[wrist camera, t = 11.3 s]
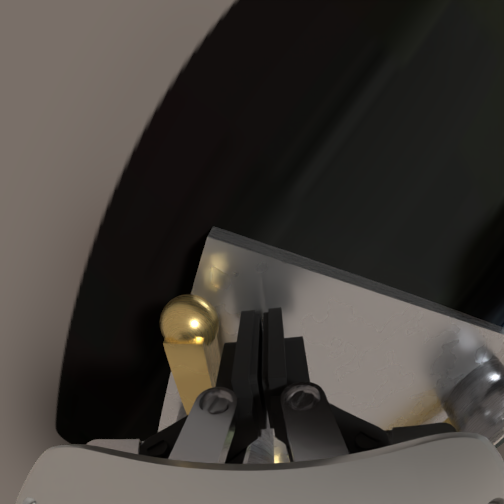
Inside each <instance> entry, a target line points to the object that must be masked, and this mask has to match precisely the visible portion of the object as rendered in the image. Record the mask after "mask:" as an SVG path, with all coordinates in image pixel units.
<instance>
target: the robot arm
mask: <svg viewBox="0 0 504 504" xmlns="http://www.w3.org/2000/svg"><path fill="white" fill-rule="evenodd" d="M267 413H268V419H269V424H270V429H274V433H275V438H277V439H278V440H280V441H281V442H283V443H284V444H285V445H286V451H287V455H288V459H289V462H286V463H268V464H247V462H248V458H249V454H250V450H251V443H253V442H254V441H255V440H257V439H258V437H261V434H262V429H267ZM15 504H504V461H503V459H502V457H501V455H500V454H499V452H498V451H497V449H496V448H495V446H494V445H493V444H492V443H491V442H490V441H489V440H488V439H487V438H486V437H484V436H483V435H480V434H477V433H470V432H457V431H456V429H455V428H454V427H453V426H452V425H451V424H448V423H443V422H439V423H432V424H424V425H415V426H404V427H392V429H391V430H383V429H381V428H380V427H378V426H376V425H374V424H371V423H369V422H367V421H365V420H363V419H361V418H359V417H357V416H354V415H352V414H350V413H348V412H346V411H344V410H342V409H340V408H338V407H336V406H334V405H332V404H330V403H329V402H328V400H327V397H326V395H325V392H324V391H323V389H322V388H321V387H320V386H319V385H317V384H315V383H312V382H310V378H309V372H308V365H307V359H306V352H305V346H304V340H303V336H299V337H290V338H284V329H283V319H282V309H281V307H279V308H269V309H268V312H264V313H263V328H262V322H261V315H260V313H255V310H248V311H241V316H240V322H239V329H238V336H237V342H227V343H224V346H223V351H222V356H221V361H220V366H219V371H218V376H217V381H216V386H215V387H213V388H209V389H207V390H205V391H203V392H202V393H200V394H199V395H198V397H197V398H196V400H195V402H194V404H193V406H192V409H191V411H190V413H189V415H187V416H185V417H184V418H182V419H180V420H179V421H177V422H175V423H174V424H172V425H170V426H168V427H167V428H165V429H163V430H161V431H160V432H158V433H156V434H154V435H152V436H150V437H149V438H148V439H146V440H145V441H140V439H96V440H92V441H90V442H88V443H87V444H86V445H84V444H67V445H59V446H55V447H51V448H49V449H47V450H46V451H45V452H44V453H43V454H42V455H41V456H40V457H39V459H38V460H37V461H36V463H35V464H34V466H33V468H32V469H31V471H30V473H29V474H28V477H27V478H26V481H25V482H24V484H23V486H22V488H21V490H20V493H19V495H18V497H17V500H16V502H15Z"/></svg>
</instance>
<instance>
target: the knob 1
mask: <svg viewBox="0 0 504 504" xmlns="http://www.w3.org/2000/svg"><path fill="white" fill-rule="evenodd" d="M160 329H161V333H162V335H163V337H164V339H165V340H164V342H163V345H164V349H165V352H166V355H167V359H168V362H169V365H170V368H171V371H172V374H173V377H174V380H175V383H176V386H177V389H178V392H179V395H180V398H181V400H182V403H183V406H182V407H181V408H180V410H179V412H178V416H177V419H176V422H177V421H179V420H180V419H182V418H184V417H185V416H187V415H189V413H190V411H191V409H192V406H193V404H194V402H195V400H196V398H197V397H198V395H199V394H200V393H202V392H203V391H205V390H207V389H209V388H213V387H215V386H216V381H217V376H218V371H219V366H220V361H221V357H220V351H219V345H218V339H217V334H218V331H219V318H218V315H217V312H216V310H215V308H214V307H213V306H212V305H211V303H210V302H208V301H207V300H206V299H204V298H202V297H200V296H198V295H193V294H184V295H180V296H177V297H175V298H173V299H172V300H170V301H169V302H168V303H167V304H166V306H165V307H164V309H163V311H162V313H161V317H160ZM268 463H274V436H273V429H270V424H269V419H268V413H267V429H262V434H261V437H258V439H257V440H255V441H254V442H253V443H251V450H250V454H249V458H248V462H247V464H268Z"/></svg>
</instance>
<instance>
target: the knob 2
mask: <svg viewBox="0 0 504 504" xmlns="http://www.w3.org/2000/svg"><path fill="white" fill-rule="evenodd" d="M444 410H445V412H446V414H447V416H448V418H447V419H446V420H445V421H443V423H448V424H451V425H452V426H453V427H454V428H455V429H456V431H457V432H470V433H477V434H480V435H483V436H484V437H486V438H487V439H488V440H489V441H490V442H491V443H492V444H493V445H495V444H496V443H498V442H499V441H500V440H501V439H502V438H503V437H504V365H503V364H502V363H501V361H500V360H499V359H490V360H488V361H486V362H484V363H482V364H481V365H479V366H478V367H476V368H475V369H474V370H472V371H471V372H470V373H469V374H468V375H466V376H465V377H464V378H463V379H462V380H461V381H460V382H459V383H458V384H457V386H456V387H455V388H454V389H453V390H452V392H451V393H450V395H449V396H448V398H447V400H446V402H445V405H444Z"/></svg>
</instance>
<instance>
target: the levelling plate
mask: <svg viewBox="0 0 504 504" xmlns="http://www.w3.org/2000/svg"><path fill="white" fill-rule="evenodd" d="M191 294H193V295H198V296H200V297H202V298H204V299H206V300H207V301H208V302H210V303H211V305H212V306H213V307H214V308H215V310H216V312H217V315H218V318H219V331H218V334H217V339H218V345H219V351H220V357H221V356H222V351H223V346H224V343H227V342H237V336H238V329H239V322H240V316H241V311H248V310H255V313H260V315H261V322H262V328H263V313H264V312H268V309H269V308H279V307H281V309H282V319H283V329H284V338H290V337H299V336H303V340H304V346H305V352H306V359H307V365H308V372H309V378H310V382H312V383H315V384H317V385H319V386H320V387H321V388H322V389H323V391H324V392H325V395H326V397H327V400H328V402H329V403H330V404H332V405H334V406H336V407H338V408H340V409H342V410H344V411H346V412H348V413H350V414H352V415H354V416H357V417H359V418H361V419H363V420H365V421H367V422H369V423H371V424H374V425H376V426H378V427H380V428H381V429H383V430H391V429H392V427H404V426H415V425H424V424H432V423H439V422H443V421H445V420H446V419H447V418H448V416H447V414H446V412H445V410H444V405H445V402H446V400H447V398H448V396H449V395H450V393H451V392H452V390H453V389H454V388H455V387H456V386H457V384H458V383H459V382H460V381H461V380H462V379H463V378H464V377H465V376H466V375H468V374H469V373H470V372H471V371H472V370H474V369H475V368H476V367H478V366H479V365H481V364H482V363H484V362H486V361H488V360H490V359H499V360H500V361H501V363H502V364H503V365H504V328H503V327H500V326H497V325H495V324H492V323H489V322H487V321H484V320H481V319H479V318H476V317H473V316H470V315H468V314H465V313H462V312H460V311H457V310H454V309H451V308H449V307H446V306H443V305H440V304H438V303H435V302H432V301H429V300H426V299H424V298H421V297H418V296H415V295H412V294H410V293H407V292H404V291H401V290H398V289H396V288H393V287H390V286H387V285H384V284H381V283H379V282H376V281H373V280H370V279H367V278H364V277H361V276H359V275H356V274H353V273H350V272H347V271H344V270H341V269H338V268H335V267H333V266H330V265H327V264H324V263H321V262H318V261H315V260H312V259H309V258H306V257H303V256H300V255H297V254H295V253H292V252H289V251H286V250H283V249H280V248H277V247H274V246H271V245H268V244H265V243H262V242H259V241H256V240H253V239H250V238H247V237H244V236H241V235H238V234H235V233H232V232H229V231H226V230H223V229H220V228H217V227H214V226H213V227H212V229H211V231H210V233H209V235H208V236H207V240H206V243H205V246H204V250H203V253H202V256H201V260H200V263H199V267H198V270H197V274H196V277H195V281H194V284H193V288H192V291H191ZM182 406H183V403H182V400H181V398H180V395H179V392H178V389H177V386H176V383H175V380H174V377H173V374H172V371H171V373H170V378H169V382H168V386H167V391H166V395H165V400H164V404H163V409H162V414H161V418H160V423H159V428H158V432H160V431H161V430H163V429H165V428H167V427H168V426H170V425H172V424H174V423H175V422H176V419H177V416H178V412H179V410H180V408H181V407H182ZM273 436H274V463H286V462H289V459H288V455H287V451H286V445H285V444H284V443H283V442H281V441H280V440H278V439H277V438H275V433H274V429H273Z"/></svg>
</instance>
